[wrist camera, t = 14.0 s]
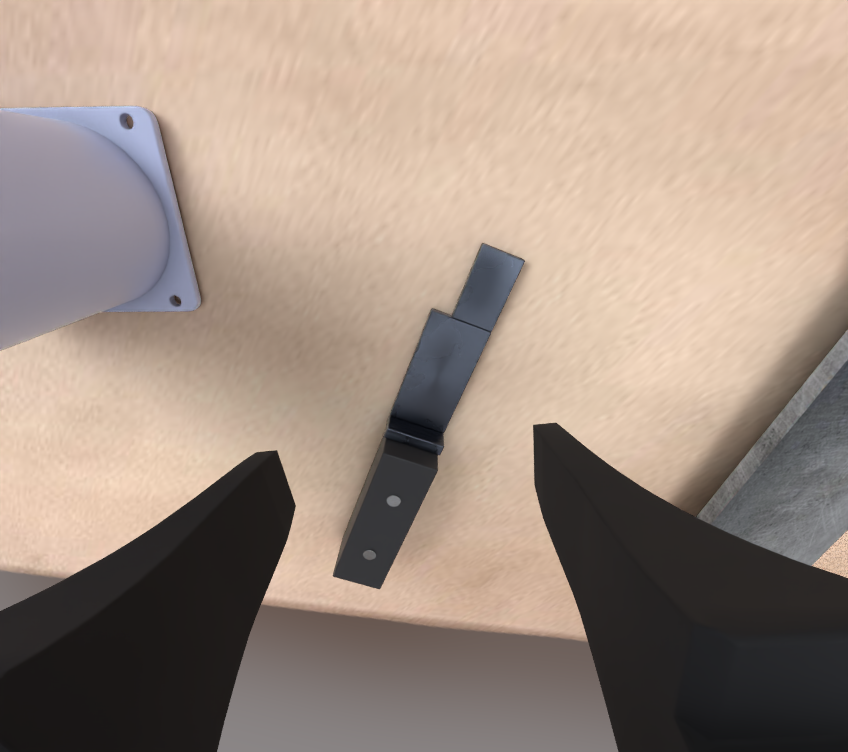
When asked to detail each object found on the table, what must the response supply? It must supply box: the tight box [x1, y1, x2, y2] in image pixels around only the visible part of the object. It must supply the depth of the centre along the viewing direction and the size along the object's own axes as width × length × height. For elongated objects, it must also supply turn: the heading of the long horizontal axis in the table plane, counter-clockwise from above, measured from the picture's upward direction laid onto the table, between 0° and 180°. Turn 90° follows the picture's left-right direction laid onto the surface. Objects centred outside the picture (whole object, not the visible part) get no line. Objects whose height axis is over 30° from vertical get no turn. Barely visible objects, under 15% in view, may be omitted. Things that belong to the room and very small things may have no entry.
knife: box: [333, 243, 525, 589], centre depth 21 cm, size 19×3×3 cm, turn 159°
